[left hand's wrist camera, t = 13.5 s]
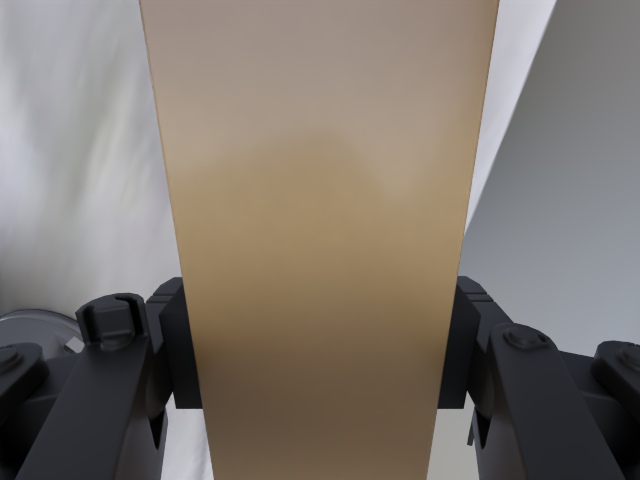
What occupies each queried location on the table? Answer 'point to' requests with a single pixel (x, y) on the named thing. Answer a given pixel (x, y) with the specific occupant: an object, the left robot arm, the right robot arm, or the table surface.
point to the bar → (319, 219)
